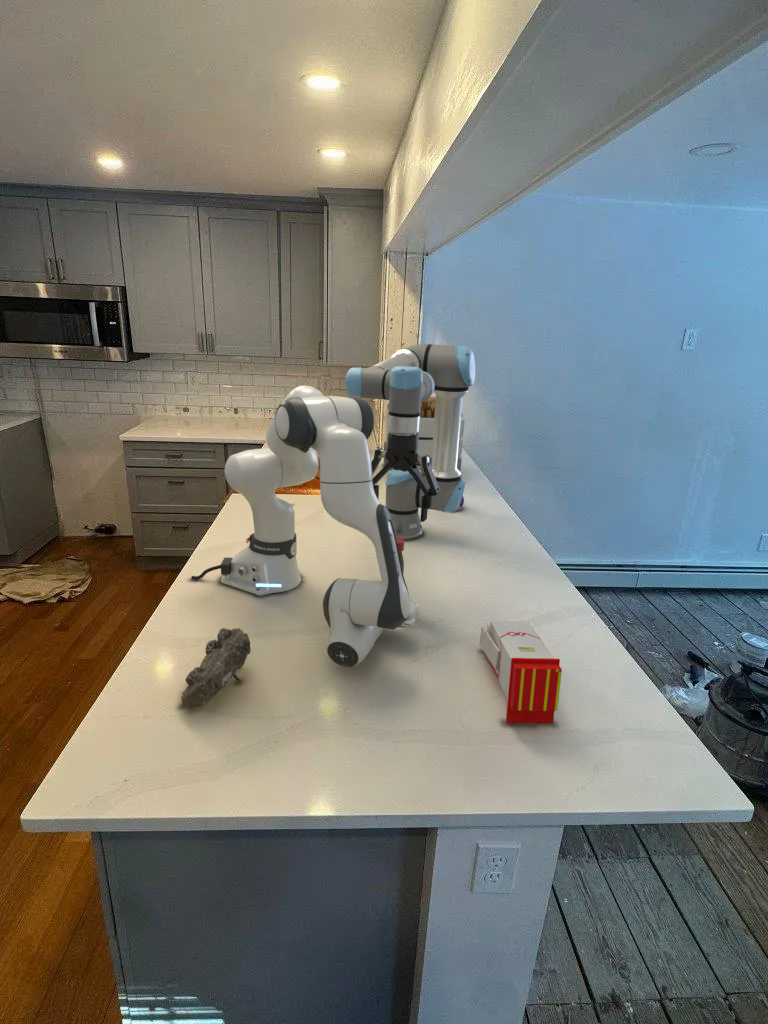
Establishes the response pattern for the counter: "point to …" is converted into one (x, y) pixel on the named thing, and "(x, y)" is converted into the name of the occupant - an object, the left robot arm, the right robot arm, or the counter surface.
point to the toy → (523, 670)
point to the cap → (400, 544)
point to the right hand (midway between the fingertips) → (398, 515)
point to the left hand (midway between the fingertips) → (385, 593)
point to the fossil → (216, 667)
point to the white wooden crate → (427, 432)
